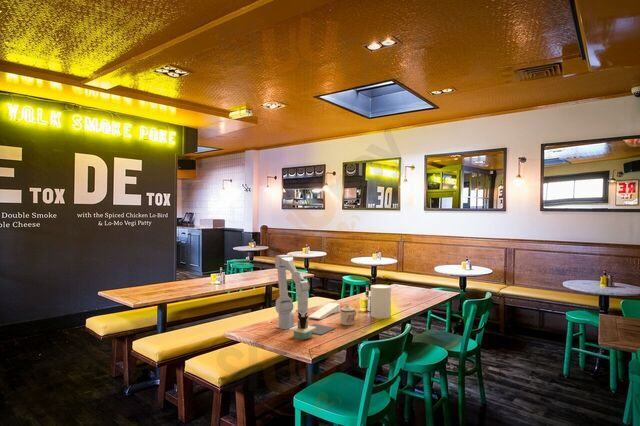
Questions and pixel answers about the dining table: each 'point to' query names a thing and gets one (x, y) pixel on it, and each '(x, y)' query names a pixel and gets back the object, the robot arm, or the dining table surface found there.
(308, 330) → the cover
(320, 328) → the mat
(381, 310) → the canister
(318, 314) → the white wedge ramp
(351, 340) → the dining table surface
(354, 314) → the teacup with lid
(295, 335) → the bowl
